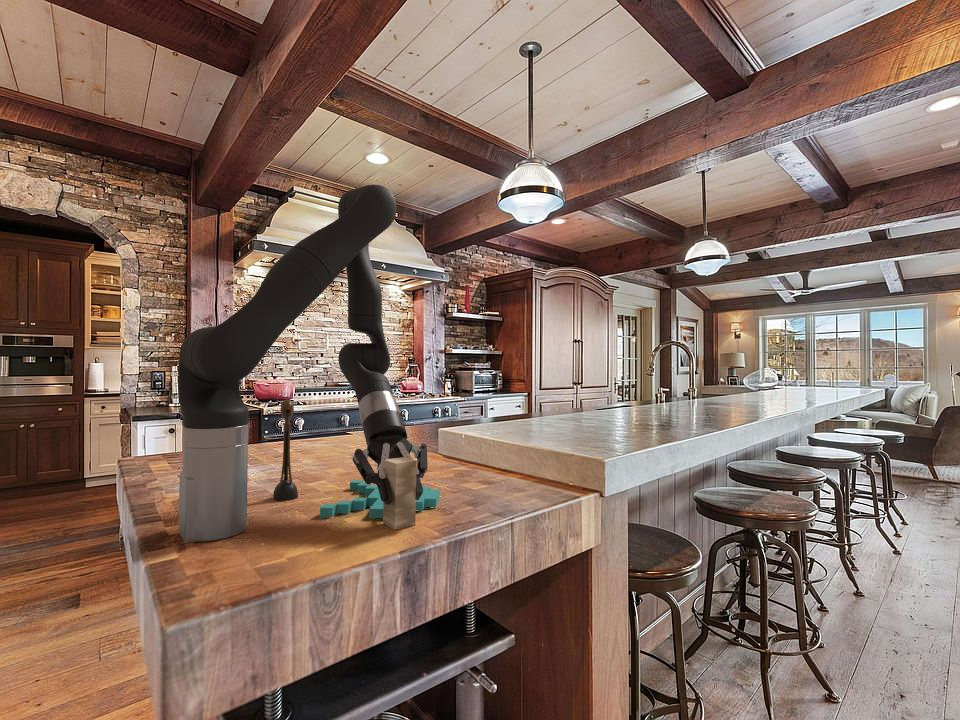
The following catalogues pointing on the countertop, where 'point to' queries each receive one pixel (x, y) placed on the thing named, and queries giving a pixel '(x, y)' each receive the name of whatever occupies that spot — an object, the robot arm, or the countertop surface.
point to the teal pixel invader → (374, 501)
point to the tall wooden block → (400, 493)
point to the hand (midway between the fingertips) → (404, 499)
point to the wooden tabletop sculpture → (286, 459)
